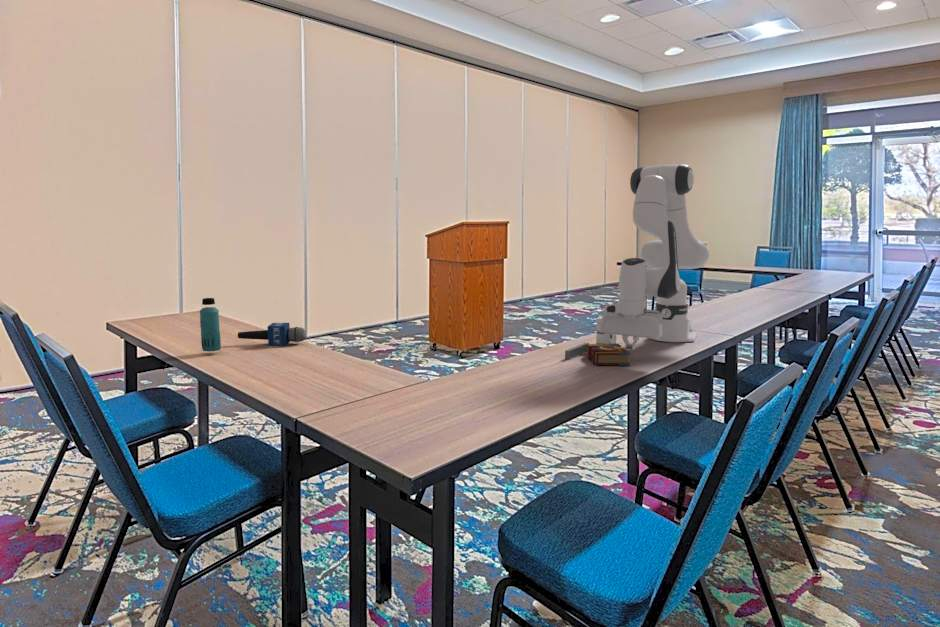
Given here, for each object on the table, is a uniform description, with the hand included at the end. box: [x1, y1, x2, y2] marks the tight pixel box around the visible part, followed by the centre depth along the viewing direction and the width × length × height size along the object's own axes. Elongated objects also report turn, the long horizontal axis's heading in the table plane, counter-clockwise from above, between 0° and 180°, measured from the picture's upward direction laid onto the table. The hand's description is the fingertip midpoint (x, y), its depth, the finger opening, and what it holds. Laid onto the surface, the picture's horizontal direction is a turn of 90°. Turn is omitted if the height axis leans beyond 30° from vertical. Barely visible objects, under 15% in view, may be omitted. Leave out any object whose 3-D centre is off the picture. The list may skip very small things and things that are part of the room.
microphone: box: [237, 322, 307, 347], centre depth 238 cm, size 8×8×25 cm
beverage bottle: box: [199, 297, 222, 353], centre depth 221 cm, size 6×7×20 cm
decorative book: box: [586, 343, 631, 366], centre depth 212 cm, size 11×16×5 cm
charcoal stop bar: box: [564, 342, 590, 360], centre depth 220 cm, size 16×2×3 cm, turn 145°
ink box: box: [595, 315, 617, 344], centre depth 231 cm, size 9×5×12 cm, turn 147°
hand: (630, 349), depth 209 cm, fingers closed
